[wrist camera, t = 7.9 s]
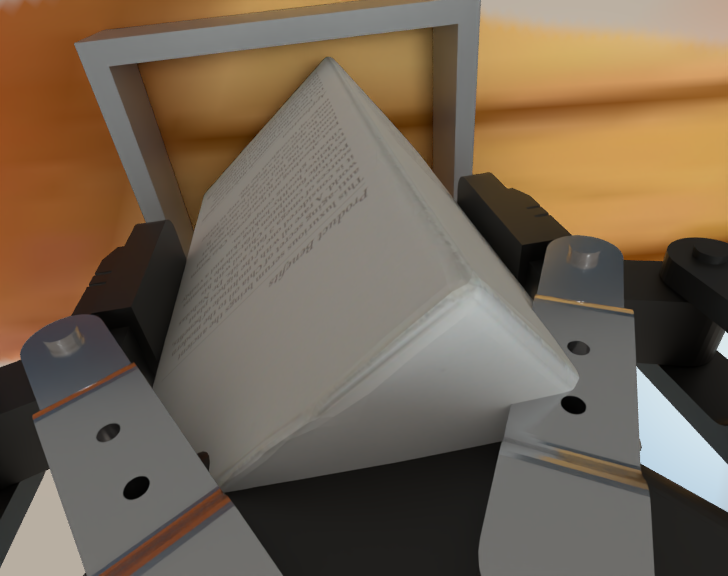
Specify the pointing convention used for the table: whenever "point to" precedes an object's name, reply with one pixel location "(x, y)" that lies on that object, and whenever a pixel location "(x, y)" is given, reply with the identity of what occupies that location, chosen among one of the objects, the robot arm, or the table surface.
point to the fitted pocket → (266, 29)
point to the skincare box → (343, 306)
